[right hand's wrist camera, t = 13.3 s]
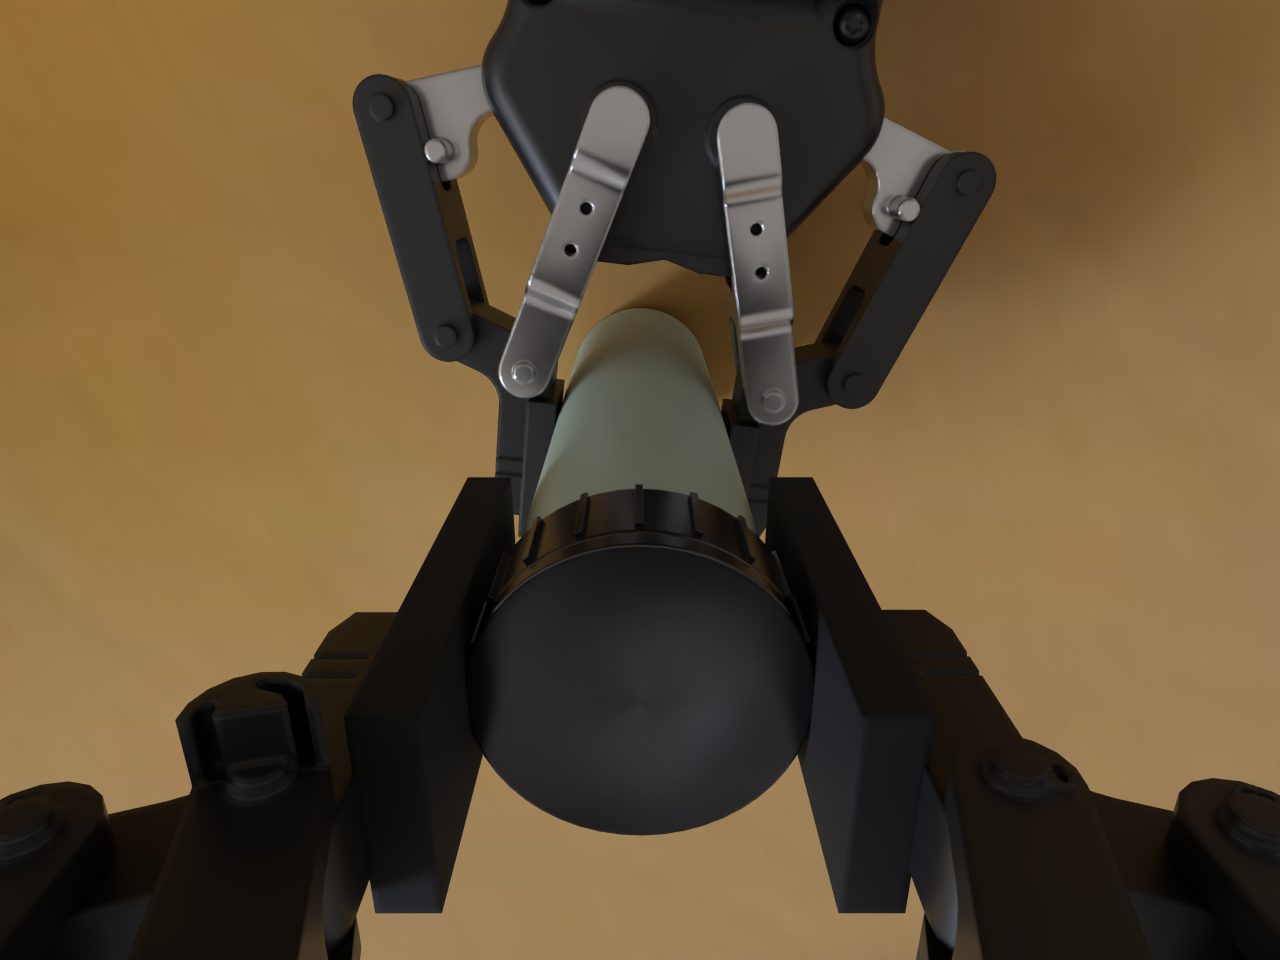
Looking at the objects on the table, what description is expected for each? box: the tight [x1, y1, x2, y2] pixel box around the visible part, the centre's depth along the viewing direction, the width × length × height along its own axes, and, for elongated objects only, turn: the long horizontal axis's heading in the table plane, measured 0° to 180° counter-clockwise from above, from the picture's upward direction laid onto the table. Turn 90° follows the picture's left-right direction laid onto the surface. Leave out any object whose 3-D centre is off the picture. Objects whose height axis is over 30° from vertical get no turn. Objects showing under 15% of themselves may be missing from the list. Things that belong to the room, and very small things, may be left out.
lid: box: [466, 484, 815, 835], centre depth 12 cm, size 5×5×2 cm
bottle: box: [522, 308, 759, 537], centre depth 19 cm, size 4×4×16 cm
